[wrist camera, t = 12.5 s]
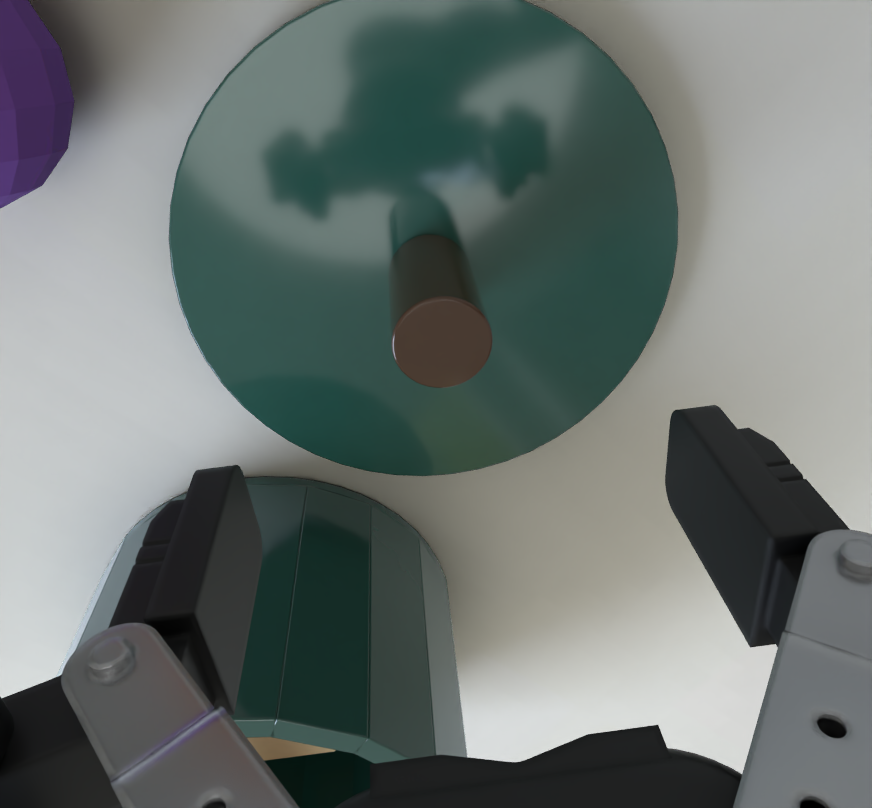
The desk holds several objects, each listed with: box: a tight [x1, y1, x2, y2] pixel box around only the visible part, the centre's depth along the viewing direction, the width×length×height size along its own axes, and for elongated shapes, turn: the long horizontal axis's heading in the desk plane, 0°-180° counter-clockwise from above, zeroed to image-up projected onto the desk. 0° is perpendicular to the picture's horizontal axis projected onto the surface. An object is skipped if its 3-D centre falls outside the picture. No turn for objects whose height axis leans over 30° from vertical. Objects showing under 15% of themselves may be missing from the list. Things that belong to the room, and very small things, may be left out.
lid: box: [169, 0, 678, 476], centre depth 21 cm, size 16×16×6 cm
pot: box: [56, 477, 468, 808], centre depth 27 cm, size 15×15×10 cm
